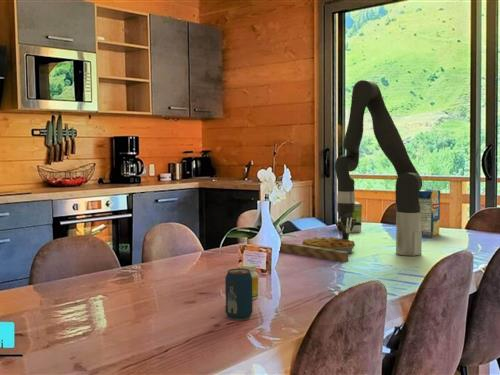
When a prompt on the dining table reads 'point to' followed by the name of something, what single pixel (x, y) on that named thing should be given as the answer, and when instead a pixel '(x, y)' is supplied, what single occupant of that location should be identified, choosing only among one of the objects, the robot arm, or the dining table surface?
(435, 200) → the beverage box
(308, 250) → the walnut board
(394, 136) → the robot arm
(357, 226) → the tea box
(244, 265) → the supplement bottle
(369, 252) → the dining table surface
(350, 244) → the pie
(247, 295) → the soda can
